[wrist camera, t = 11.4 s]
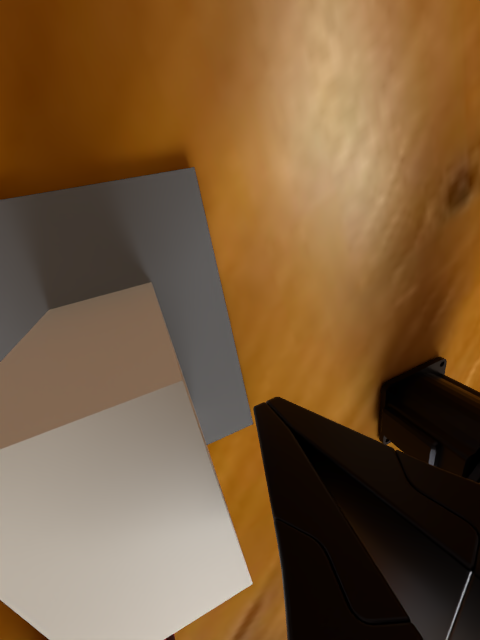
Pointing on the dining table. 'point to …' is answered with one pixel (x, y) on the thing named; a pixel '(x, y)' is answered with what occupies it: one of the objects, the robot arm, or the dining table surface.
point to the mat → (128, 274)
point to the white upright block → (108, 479)
